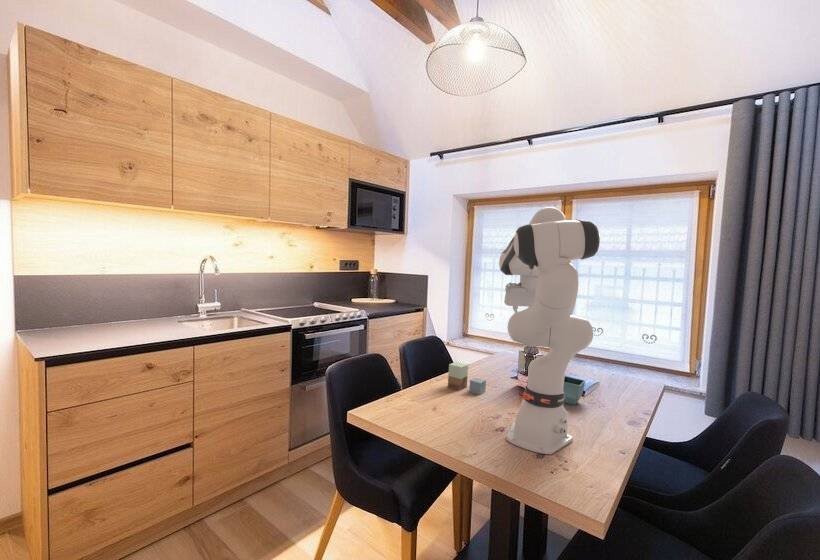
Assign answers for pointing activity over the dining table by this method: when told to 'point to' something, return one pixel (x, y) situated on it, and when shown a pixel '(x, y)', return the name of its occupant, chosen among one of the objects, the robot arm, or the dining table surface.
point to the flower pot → (573, 389)
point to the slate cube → (477, 386)
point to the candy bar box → (522, 360)
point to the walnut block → (457, 383)
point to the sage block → (458, 370)
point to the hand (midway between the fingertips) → (528, 317)
